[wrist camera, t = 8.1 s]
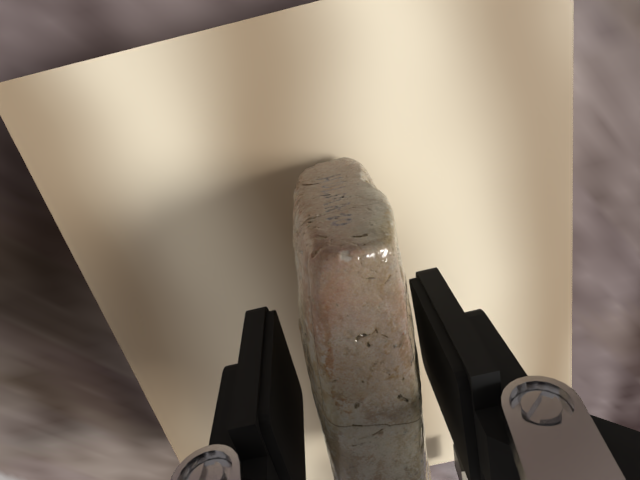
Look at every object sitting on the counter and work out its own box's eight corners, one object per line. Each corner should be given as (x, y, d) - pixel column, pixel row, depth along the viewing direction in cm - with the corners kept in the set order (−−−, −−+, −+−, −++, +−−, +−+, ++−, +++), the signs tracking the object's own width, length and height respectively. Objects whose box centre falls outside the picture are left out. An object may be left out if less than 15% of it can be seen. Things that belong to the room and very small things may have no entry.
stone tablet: (516, 663, 12) (507, 225, 7) (364, 676, 12) (248, 267, 7) (457, 463, 17) (427, 136, 12) (353, 475, 17) (282, 162, 12)
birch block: (500, -42, 14) (573, -65, 10) (522, 364, 21) (571, 435, 17) (60, 71, 15) (-15, 86, 11) (220, 430, 21) (206, 513, 18)
